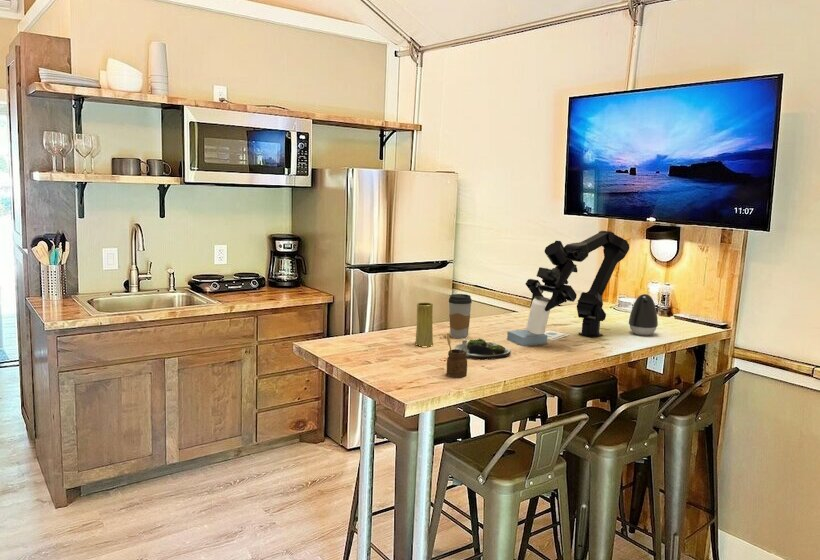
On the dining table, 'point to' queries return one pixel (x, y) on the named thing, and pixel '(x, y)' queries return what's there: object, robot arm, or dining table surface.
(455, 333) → the coffee cup
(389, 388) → the dining table surface
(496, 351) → the salad plate
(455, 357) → the utensil holder
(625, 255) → the robot arm
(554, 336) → the page
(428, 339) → the vase
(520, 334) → the base brick
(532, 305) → the can
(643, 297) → the black egg-shaped dome
